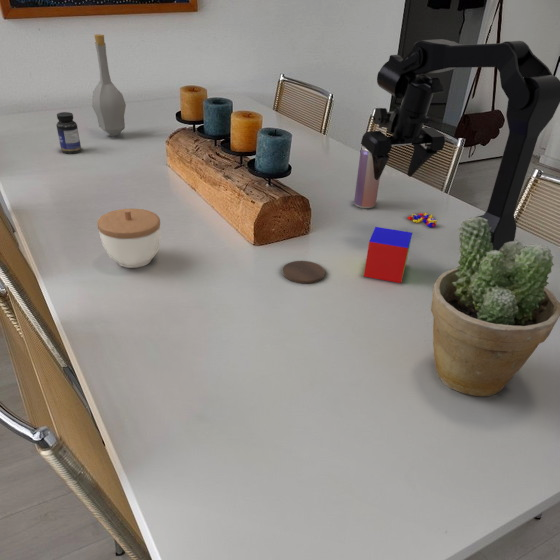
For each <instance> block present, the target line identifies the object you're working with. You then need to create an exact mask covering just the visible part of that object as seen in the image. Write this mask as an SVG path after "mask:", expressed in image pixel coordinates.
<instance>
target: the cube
mask: <svg viewBox="0 0 560 560" xmlns="http://www.w3.org/2000/svg"><path fill="white" fill-rule="evenodd" d="M412 238H413V232H411V231H404V230H399V229H391V228H387V227H386V228H385V227H380V226H375V227H374V229H373V231H372V234H371V236H370V239H369V241H368V246H367V247H368V248H367V253H366V259H365V267H364V273H363V277H365V278H370V279H376V280H381V281H387V282H391V283H398V284H402V283H403V278H404V273H405V271H406V267H407V263H408V257H409V253H410V247H411V242H412Z"/></svg>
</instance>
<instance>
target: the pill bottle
mask: <svg viewBox="0 0 560 560" xmlns="http://www.w3.org/2000/svg"><path fill="white" fill-rule="evenodd" d="M56 119H57V120H58V121H57V123H56V124H55V125H56V131H57V136H58V140H59V145H60V151H61V152H62V153H64V154H68V155H69V154H70V155H71V154H72V155H73V154H77V153H78V154H79V153H80V152H81V151H82V145H81V140H80V133H79V129H78V123H77V122H76V121H75V120H74V114H73V112H69V111H62V112H57V114H56Z"/></svg>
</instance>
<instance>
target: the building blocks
mask: <svg viewBox="0 0 560 560" xmlns="http://www.w3.org/2000/svg"><path fill="white" fill-rule="evenodd" d="M407 219H408V220H409V221H412V222H413V223H416V224H419V223H421V222H423V223H424V224H426V226H427V227H429V228H436V226H437V222H438V220H437V219H436V218H434V217H433V214H430V215H429V213H428V212H424V213H421V212H420V213H418V214H416V213H411V215H410V216H407Z"/></svg>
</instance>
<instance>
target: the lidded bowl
mask: <svg viewBox="0 0 560 560" xmlns="http://www.w3.org/2000/svg"><path fill="white" fill-rule="evenodd" d="M96 226H97V230H98V232H99V237H100V241H101V244H102V246H103V248H104V251H105V252H106V254H107V255H108V256H109V257H110V258H111V260H113V261H115V262H116V263H117V264H118V266H121V267H122V268H128V269H136V268H137V269H138V268H142V267H146V266H147V265H149V264H150V263H151V262H152V259H154V257H155V256H156V255H157V253H158V251H159V249H160V246H161V219H160V216H159V215H158V214H157V213H155V212H153V211H151V210H147V209H144V208H122V209H121V208H120V209H116V210H112V211H109V212H106V213H104V214H102V215H101V216H100V217H99V218H98V219H97V222H96Z"/></svg>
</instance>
